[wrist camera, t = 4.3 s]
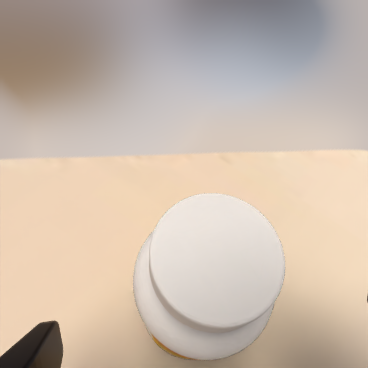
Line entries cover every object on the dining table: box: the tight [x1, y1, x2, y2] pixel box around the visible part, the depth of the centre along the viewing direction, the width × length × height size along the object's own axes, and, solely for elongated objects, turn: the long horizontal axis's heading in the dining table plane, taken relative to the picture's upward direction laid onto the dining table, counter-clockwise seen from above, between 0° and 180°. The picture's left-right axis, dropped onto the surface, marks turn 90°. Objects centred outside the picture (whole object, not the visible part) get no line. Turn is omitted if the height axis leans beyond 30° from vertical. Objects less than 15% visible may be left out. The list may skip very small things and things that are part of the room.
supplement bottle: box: [133, 193, 285, 360], centre depth 12 cm, size 5×5×10 cm
